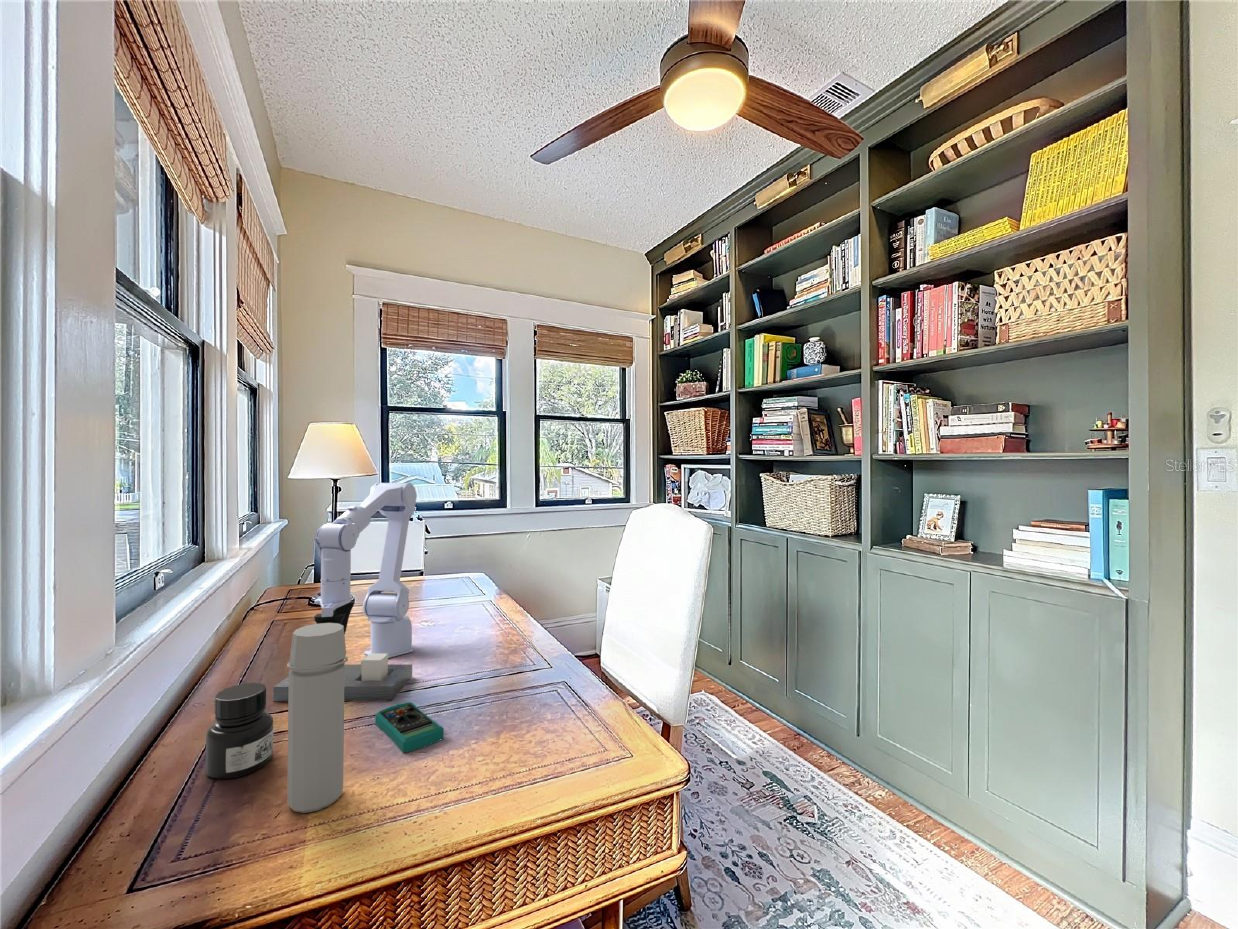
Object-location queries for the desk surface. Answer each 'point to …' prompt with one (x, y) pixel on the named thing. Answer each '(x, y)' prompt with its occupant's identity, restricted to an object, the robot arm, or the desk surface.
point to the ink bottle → (239, 732)
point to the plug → (374, 667)
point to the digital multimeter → (408, 726)
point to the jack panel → (362, 684)
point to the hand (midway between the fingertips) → (335, 640)
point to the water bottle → (316, 716)
